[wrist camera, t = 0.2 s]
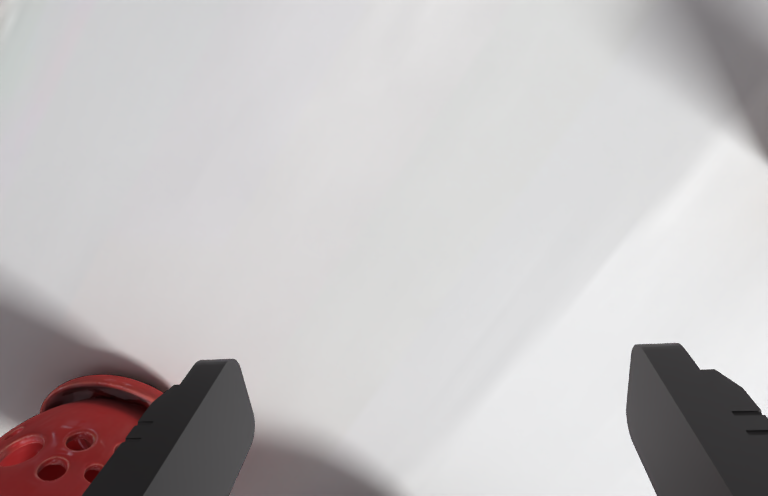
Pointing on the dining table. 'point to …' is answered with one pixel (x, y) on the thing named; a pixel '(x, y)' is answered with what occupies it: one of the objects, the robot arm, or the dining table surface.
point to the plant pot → (71, 436)
